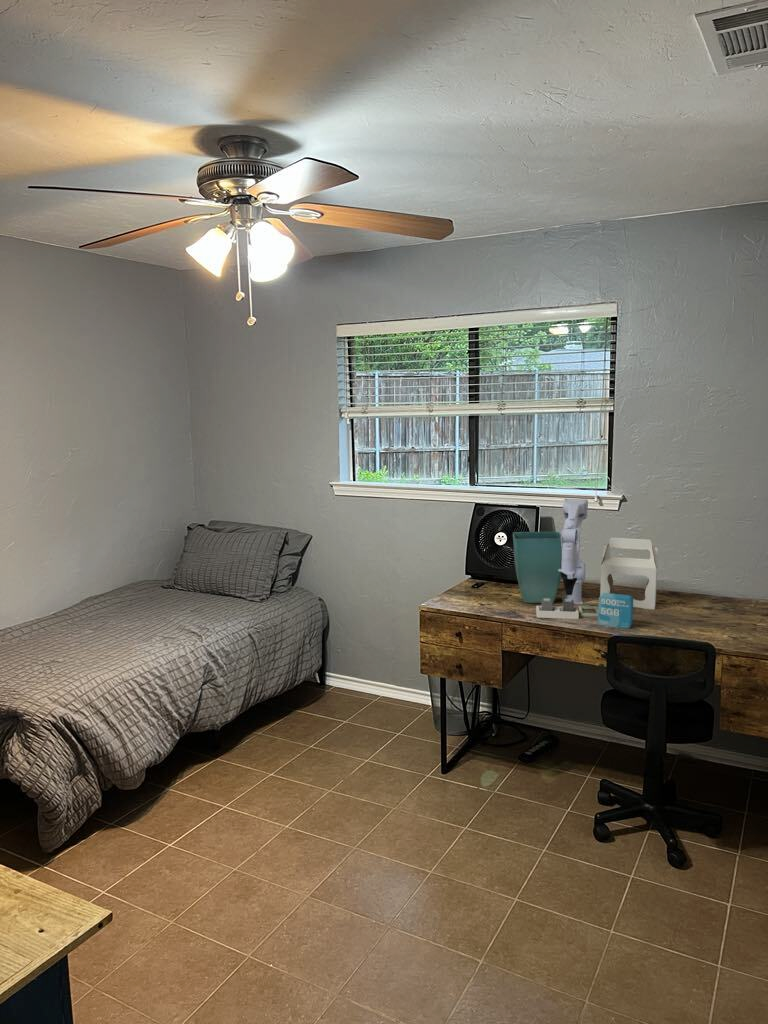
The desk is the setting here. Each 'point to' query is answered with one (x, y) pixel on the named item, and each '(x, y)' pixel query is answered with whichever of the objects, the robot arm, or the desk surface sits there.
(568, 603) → the plug
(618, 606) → the data package
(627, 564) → the gable box
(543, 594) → the flower pot
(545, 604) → the twin plug
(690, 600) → the desk surface
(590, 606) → the tray
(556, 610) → the cream shallow box
